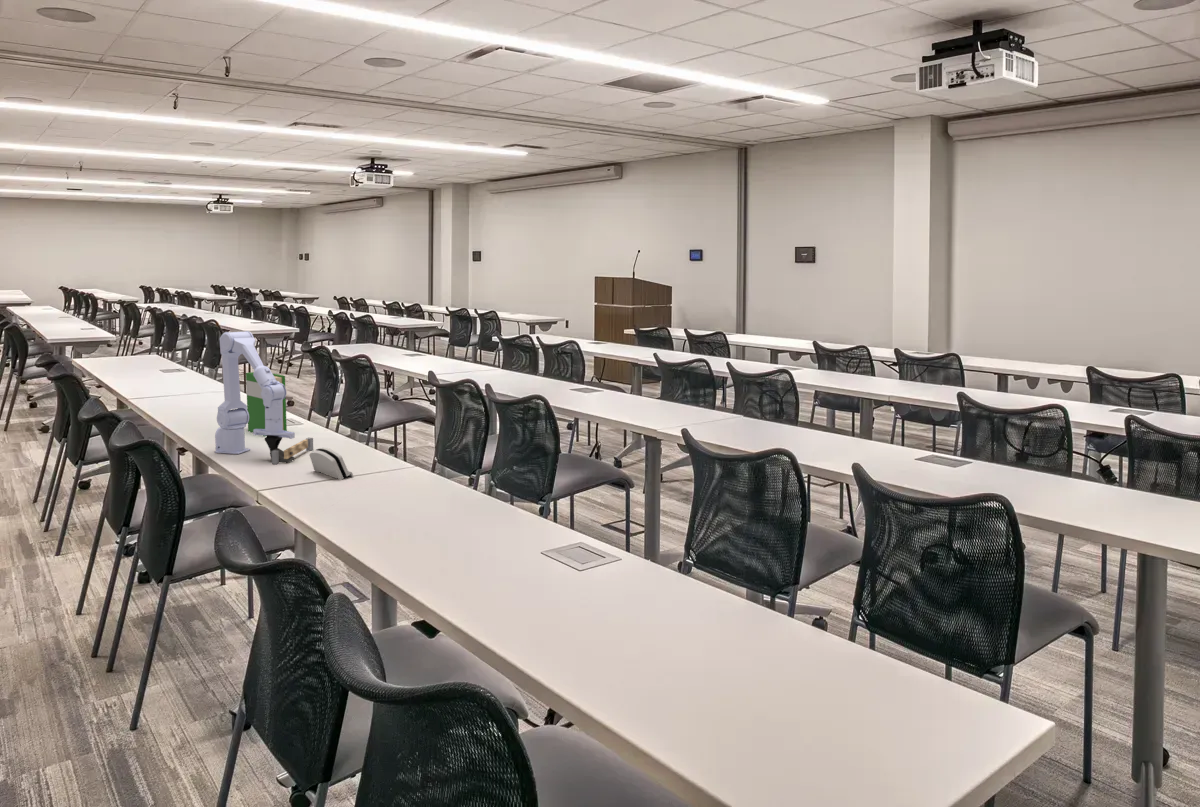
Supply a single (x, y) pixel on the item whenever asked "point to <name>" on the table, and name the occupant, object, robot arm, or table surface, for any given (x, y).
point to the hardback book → (259, 403)
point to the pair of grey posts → (276, 454)
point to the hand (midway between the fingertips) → (274, 456)
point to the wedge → (282, 456)
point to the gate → (295, 449)
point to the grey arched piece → (329, 463)
